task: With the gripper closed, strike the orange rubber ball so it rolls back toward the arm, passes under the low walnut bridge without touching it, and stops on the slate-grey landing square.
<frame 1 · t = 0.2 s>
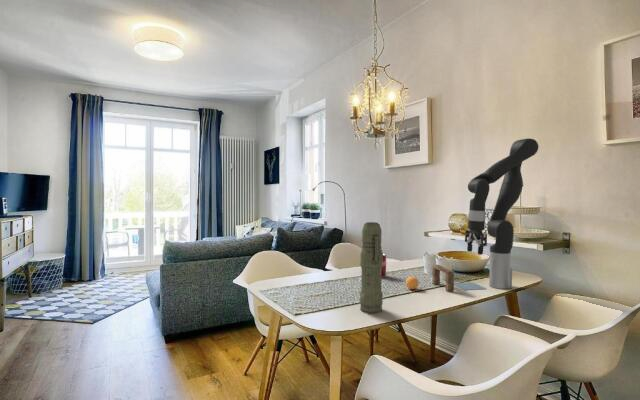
hand: (474, 252, 175), 17 cm above the table, tool pointing down, fingers open, 8 cm apart
thermos: (371, 310, 144), on the table
bridge: (442, 287, 176), on the table
ball: (412, 282, 173), on the table
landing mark: (468, 286, 179), on the table
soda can: (379, 276, 199), on the table
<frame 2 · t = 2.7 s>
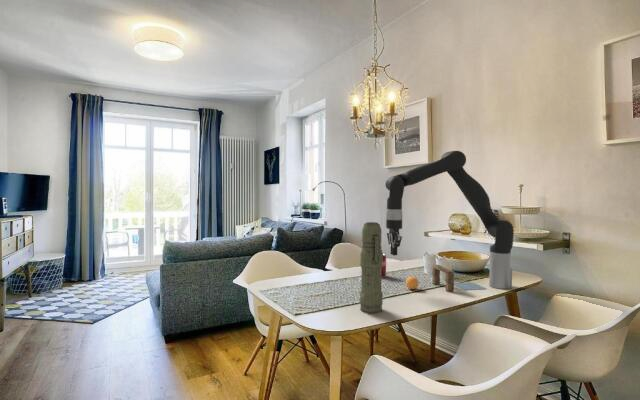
hand: (393, 254, 171), 17 cm above the table, tool pointing down, fingers closed
nothing on the table moved.
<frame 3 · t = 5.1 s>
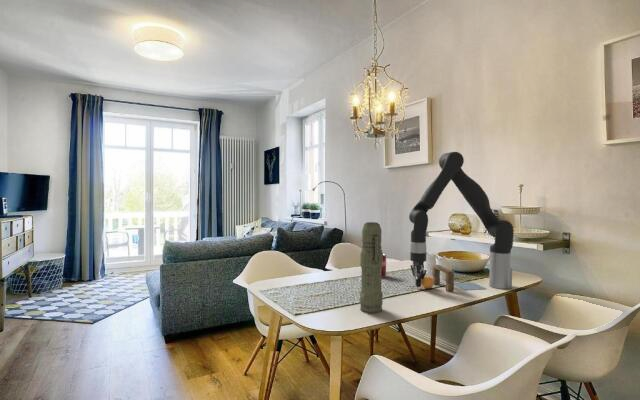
hand: (418, 286, 174), 1 cm above the table, tool pointing down, fingers closed
ball: (427, 282, 175), on the table
everything else where it was.
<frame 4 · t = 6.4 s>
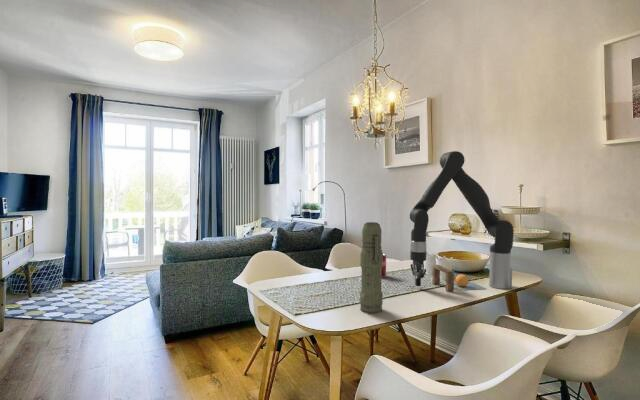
hand: (417, 285, 174), 2 cm above the table, tool pointing down, fingers closed
ball: (461, 280, 178), on the table
everything else where it was.
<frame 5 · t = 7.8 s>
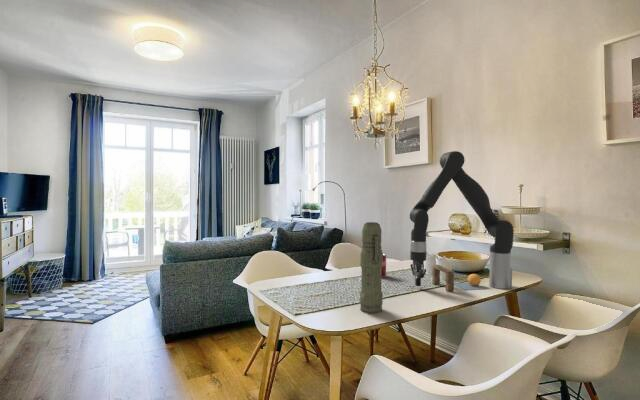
hand: (417, 285, 174), 2 cm above the table, tool pointing down, fingers closed
ball: (474, 279, 179), on the table
everything else where it was.
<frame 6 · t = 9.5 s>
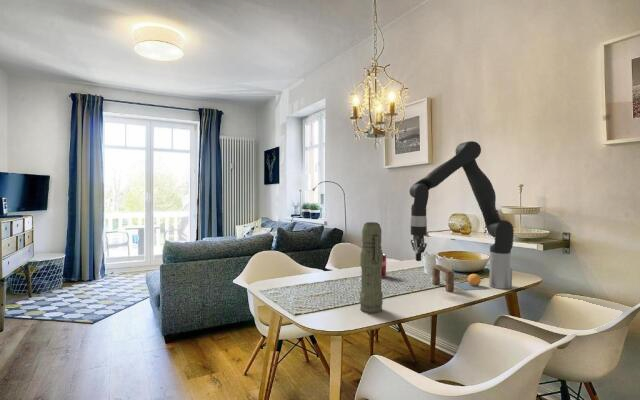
hand: (418, 260, 173), 14 cm above the table, tool pointing down, fingers closed
nothing on the table moved.
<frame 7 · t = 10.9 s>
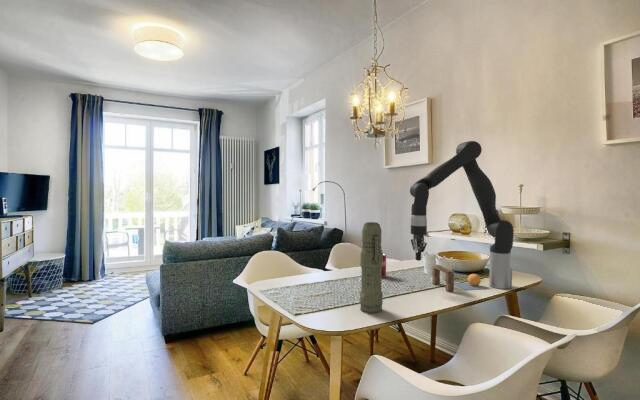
hand: (418, 260, 173), 14 cm above the table, tool pointing down, fingers closed
nothing on the table moved.
at the end: ball 3.2 cm from the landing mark (horizontally); ball never touched bridge; ball at rest at the end (0.0 cm/s) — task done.
